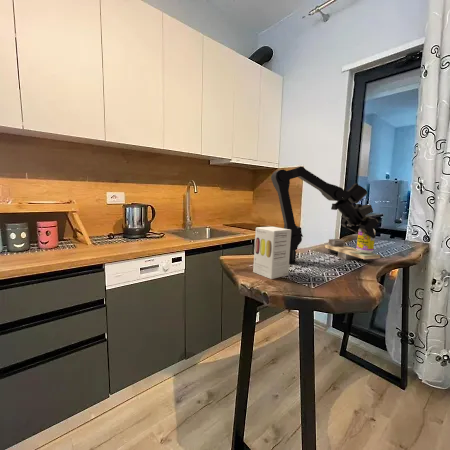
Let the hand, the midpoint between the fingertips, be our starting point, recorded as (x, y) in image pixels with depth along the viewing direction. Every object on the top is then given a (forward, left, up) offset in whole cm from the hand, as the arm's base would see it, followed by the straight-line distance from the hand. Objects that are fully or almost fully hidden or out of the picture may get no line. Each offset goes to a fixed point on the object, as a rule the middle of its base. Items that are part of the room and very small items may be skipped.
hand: (369, 236), depth 113 cm
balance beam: (-1, +8, -12) cm, 14 cm away
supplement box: (-51, -5, -12) cm, 53 cm away
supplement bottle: (-1, 0, -7) cm, 7 cm away
